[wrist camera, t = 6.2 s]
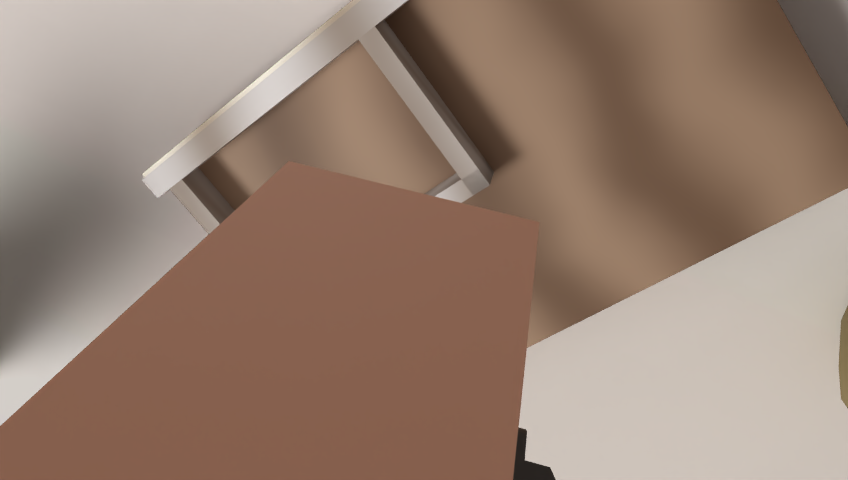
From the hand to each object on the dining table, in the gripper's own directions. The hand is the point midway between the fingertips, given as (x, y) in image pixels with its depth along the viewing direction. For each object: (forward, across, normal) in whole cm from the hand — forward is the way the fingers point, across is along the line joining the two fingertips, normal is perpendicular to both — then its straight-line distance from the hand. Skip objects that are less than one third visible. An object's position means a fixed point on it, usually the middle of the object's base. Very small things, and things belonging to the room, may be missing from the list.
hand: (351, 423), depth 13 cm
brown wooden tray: (+20, -1, +1) cm, 20 cm away
